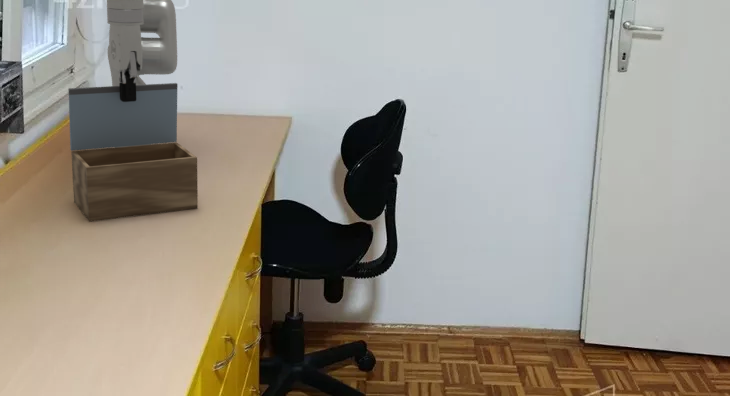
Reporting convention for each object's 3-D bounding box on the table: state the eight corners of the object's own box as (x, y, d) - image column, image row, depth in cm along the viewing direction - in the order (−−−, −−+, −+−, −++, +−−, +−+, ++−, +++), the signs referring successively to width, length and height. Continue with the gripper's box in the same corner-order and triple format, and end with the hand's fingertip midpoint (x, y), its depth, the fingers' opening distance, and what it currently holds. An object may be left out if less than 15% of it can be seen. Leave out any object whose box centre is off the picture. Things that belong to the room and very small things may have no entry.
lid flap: (71, 150, 195) (70, 149, 196) (176, 141, 207) (175, 140, 208) (69, 89, 190) (68, 88, 191) (177, 84, 202) (176, 83, 202)
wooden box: (74, 202, 199) (71, 151, 195) (177, 190, 211) (176, 142, 207) (89, 221, 188) (86, 167, 184) (197, 208, 199) (197, 157, 196)
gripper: (98, 12, 194) (102, 95, 199) (117, 21, 181) (120, 109, 187) (132, 12, 197) (135, 93, 203) (153, 20, 185) (155, 106, 191)
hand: (128, 100), depth 195 cm, fingers closed
